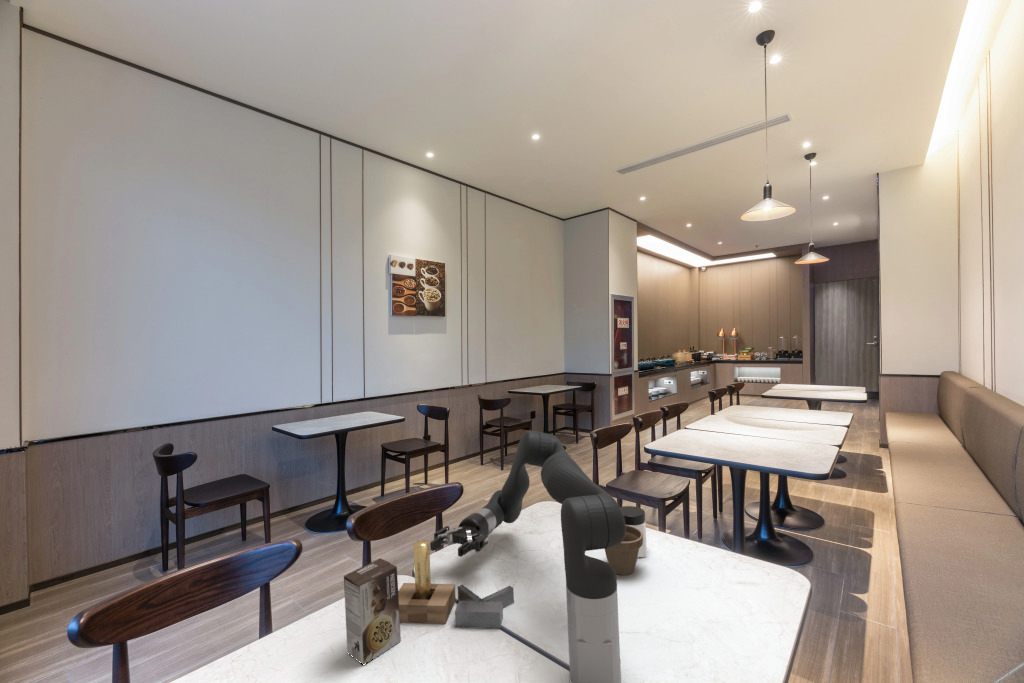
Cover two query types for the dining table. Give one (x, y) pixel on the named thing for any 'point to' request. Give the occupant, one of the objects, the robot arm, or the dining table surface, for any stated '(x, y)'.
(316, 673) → the dining table surface
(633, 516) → the jar
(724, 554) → the dining table surface
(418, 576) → the axle
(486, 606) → the v block
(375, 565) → the coffee box
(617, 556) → the flower pot
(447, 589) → the hollow rectangular block
